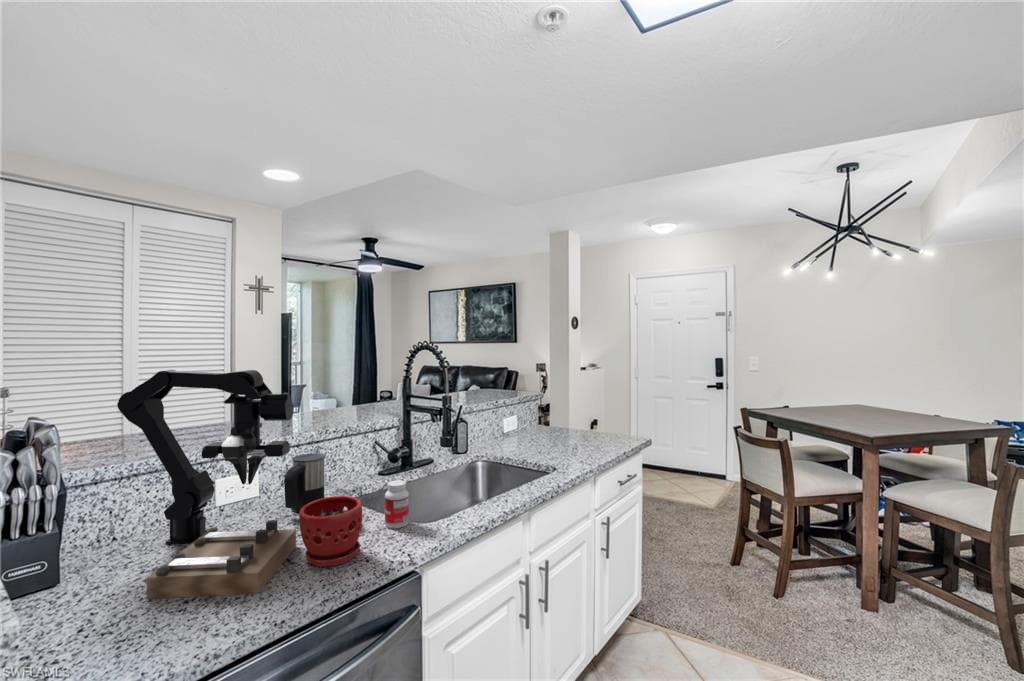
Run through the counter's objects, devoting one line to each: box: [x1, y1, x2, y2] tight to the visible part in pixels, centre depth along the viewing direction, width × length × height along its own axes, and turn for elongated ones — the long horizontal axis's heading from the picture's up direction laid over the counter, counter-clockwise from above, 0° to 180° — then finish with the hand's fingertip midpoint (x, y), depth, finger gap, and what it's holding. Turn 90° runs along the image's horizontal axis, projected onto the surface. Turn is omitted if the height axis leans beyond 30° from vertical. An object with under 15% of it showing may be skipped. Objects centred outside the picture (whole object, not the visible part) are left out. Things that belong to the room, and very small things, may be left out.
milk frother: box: [283, 453, 345, 513], centre depth 136 cm, size 14×16×15 cm
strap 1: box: [168, 556, 249, 570], centre depth 95 cm, size 14×3×1 cm, turn 96°
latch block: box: [146, 519, 297, 600], centre depth 101 cm, size 20×21×6 cm
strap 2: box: [204, 529, 274, 541], centre depth 108 cm, size 14×3×1 cm, turn 96°
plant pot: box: [298, 495, 363, 567], centre depth 107 cm, size 13×13×12 cm
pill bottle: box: [384, 479, 410, 529], centre depth 126 cm, size 6×6×11 cm
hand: (247, 483), depth 118 cm, fingers closed
